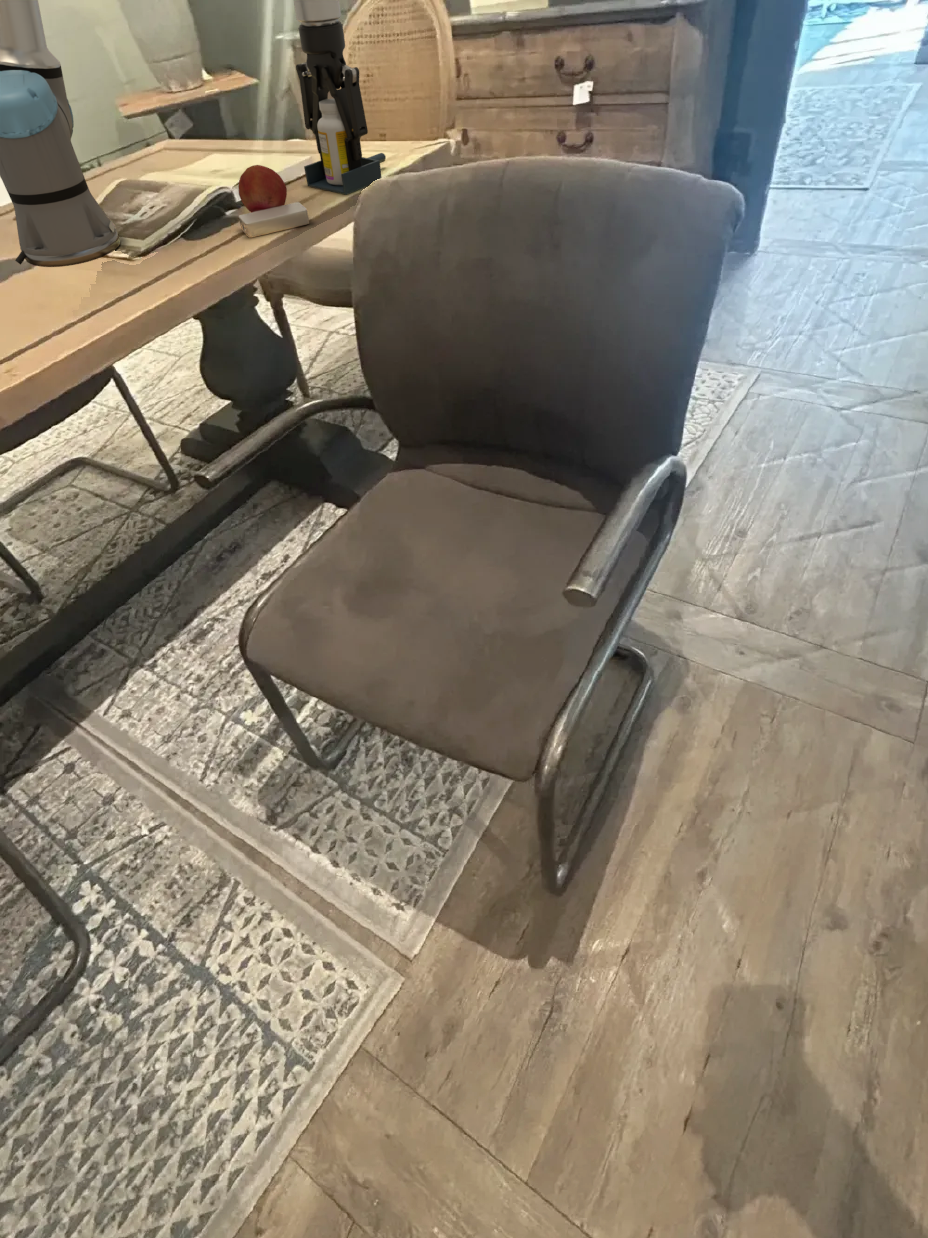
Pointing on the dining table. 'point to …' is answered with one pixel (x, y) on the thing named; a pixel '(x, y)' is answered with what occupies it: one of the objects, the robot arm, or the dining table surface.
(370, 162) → the scoop
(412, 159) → the dining table surface
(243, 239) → the dining table surface
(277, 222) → the multiport hub
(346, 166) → the supplement bottle
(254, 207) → the fruit
